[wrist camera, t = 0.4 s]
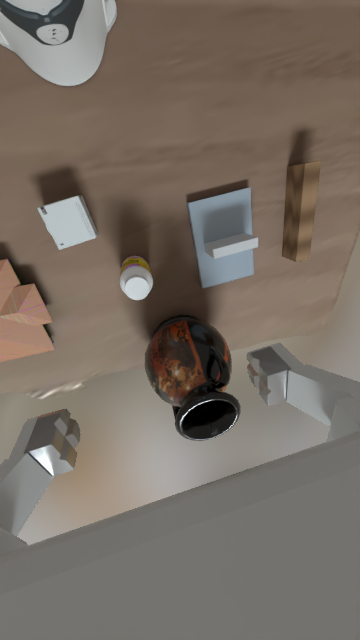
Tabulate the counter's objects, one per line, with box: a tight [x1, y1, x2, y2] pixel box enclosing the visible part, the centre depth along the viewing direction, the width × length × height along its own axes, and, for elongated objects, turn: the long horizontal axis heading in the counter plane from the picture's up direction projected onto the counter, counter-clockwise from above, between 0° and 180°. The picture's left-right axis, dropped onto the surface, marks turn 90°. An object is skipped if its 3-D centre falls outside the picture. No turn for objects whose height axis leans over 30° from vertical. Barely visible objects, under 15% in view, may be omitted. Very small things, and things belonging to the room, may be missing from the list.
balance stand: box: [187, 187, 258, 289], centre depth 51 cm, size 20×14×8 cm
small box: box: [37, 195, 98, 250], centre depth 44 cm, size 8×8×5 cm
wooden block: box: [282, 160, 321, 262], centre depth 53 cm, size 20×4×6 cm, turn 10°
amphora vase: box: [145, 315, 240, 441], centre depth 54 cm, size 22×22×28 cm
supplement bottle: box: [120, 256, 153, 300], centre depth 48 cm, size 7×7×13 cm
